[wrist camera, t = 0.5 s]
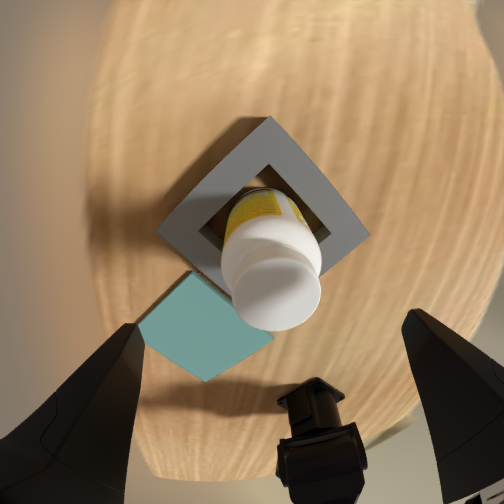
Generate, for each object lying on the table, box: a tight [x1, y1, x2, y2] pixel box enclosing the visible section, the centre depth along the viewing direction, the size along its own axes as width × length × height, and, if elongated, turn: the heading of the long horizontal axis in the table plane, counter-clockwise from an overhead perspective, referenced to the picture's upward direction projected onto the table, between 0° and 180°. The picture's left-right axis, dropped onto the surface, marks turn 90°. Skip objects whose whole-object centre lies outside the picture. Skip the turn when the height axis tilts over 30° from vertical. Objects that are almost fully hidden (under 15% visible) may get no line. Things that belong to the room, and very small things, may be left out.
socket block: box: [156, 116, 370, 297], centre depth 20 cm, size 11×11×2 cm
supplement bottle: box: [221, 188, 322, 331], centre depth 16 cm, size 5×5×10 cm
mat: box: [137, 271, 274, 382], centre depth 25 cm, size 10×10×1 cm
